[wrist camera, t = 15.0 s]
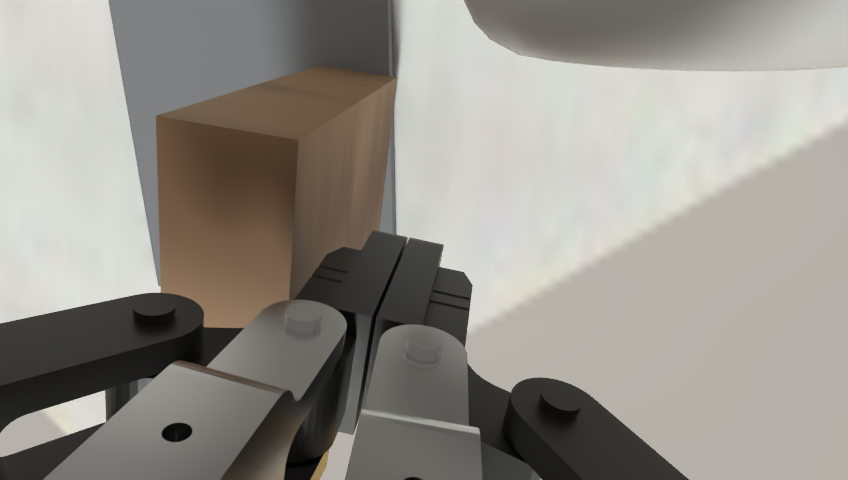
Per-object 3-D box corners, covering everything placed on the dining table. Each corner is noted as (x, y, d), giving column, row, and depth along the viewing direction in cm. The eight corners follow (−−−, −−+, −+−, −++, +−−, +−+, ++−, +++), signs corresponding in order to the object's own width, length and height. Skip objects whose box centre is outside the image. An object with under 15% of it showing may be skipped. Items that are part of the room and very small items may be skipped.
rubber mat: (166, 278, 23) (158, 285, 23) (119, 0, 20) (108, 0, 19) (396, 292, 22) (393, 299, 22) (391, 0, 19) (388, -1, 18)
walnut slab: (376, 252, 21) (281, 428, 12) (306, 240, 21) (164, 404, 12) (397, 77, 19) (298, 140, 10) (319, 65, 19) (155, 115, 10)
